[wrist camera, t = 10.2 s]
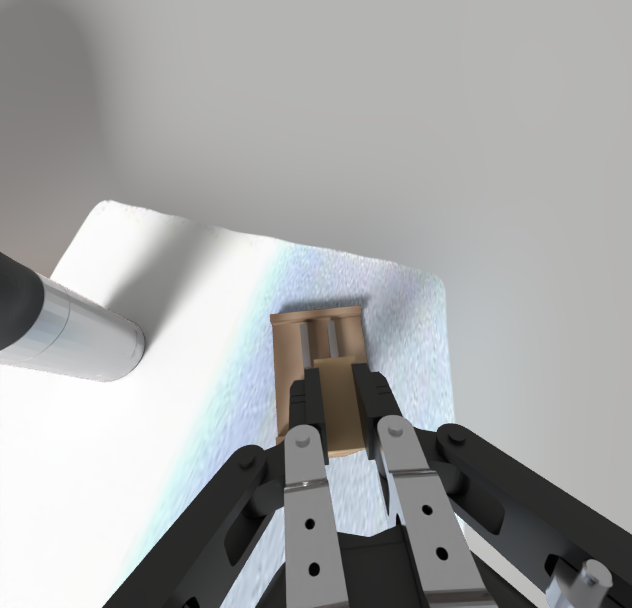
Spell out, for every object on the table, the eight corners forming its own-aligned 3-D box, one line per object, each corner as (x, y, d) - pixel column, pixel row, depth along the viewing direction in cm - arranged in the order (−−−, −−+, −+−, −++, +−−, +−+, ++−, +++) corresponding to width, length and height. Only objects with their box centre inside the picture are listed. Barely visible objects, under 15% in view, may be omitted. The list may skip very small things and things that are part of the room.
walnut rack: (279, 444, 39) (275, 446, 36) (272, 320, 45) (269, 313, 42) (377, 433, 39) (383, 434, 36) (358, 312, 45) (361, 304, 42)
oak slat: (322, 458, 27) (321, 452, 12) (318, 411, 28) (313, 359, 14) (345, 456, 27) (369, 447, 12) (339, 409, 28) (354, 355, 14)
